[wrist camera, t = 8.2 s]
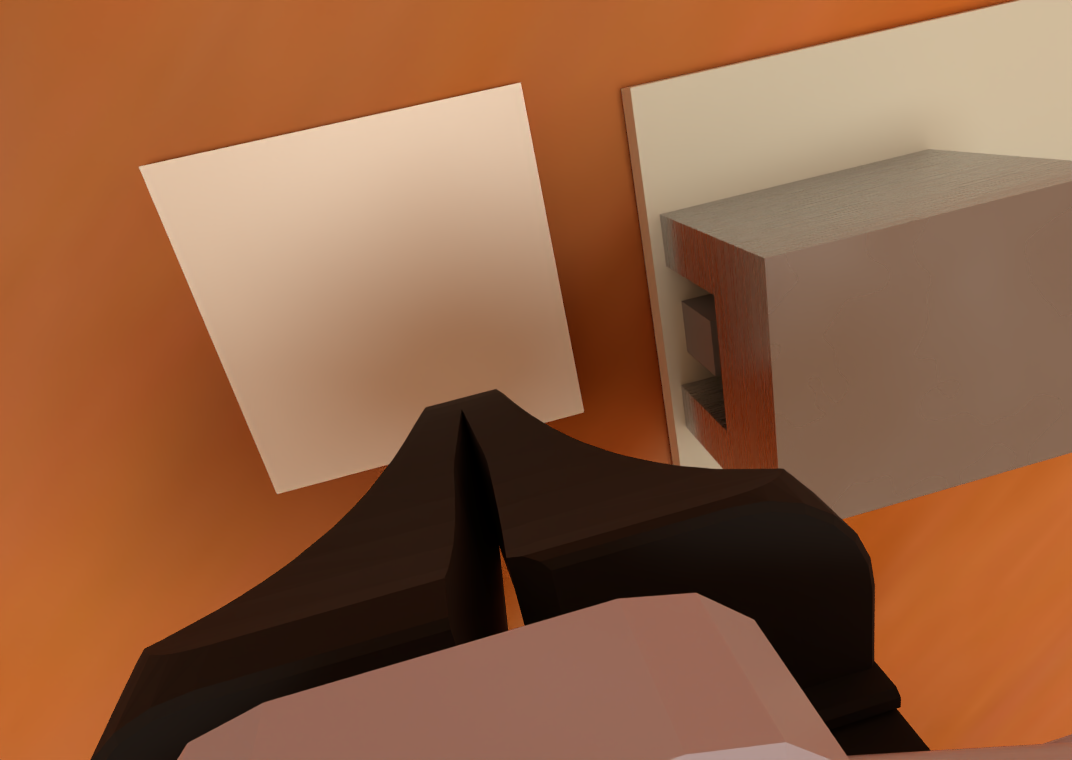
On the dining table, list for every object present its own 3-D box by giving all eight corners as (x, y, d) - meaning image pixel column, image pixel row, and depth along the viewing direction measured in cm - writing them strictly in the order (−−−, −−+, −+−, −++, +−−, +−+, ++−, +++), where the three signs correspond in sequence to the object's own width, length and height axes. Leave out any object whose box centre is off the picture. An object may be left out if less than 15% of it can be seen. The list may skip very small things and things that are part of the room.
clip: (921, 363, 16) (1090, 447, 12) (686, 427, 16) (782, 536, 12) (928, 149, 14) (1133, 165, 10) (659, 213, 14) (764, 258, 10)
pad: (580, 405, 16) (583, 412, 15) (280, 485, 15) (277, 494, 15) (517, 83, 13) (520, 81, 13) (146, 164, 12) (138, 166, 12)
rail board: (1225, 351, 19) (1401, 402, 15) (678, 505, 17) (742, 599, 14) (1322, -69, 15) (1585, -119, 11) (620, 88, 13) (691, 82, 10)
